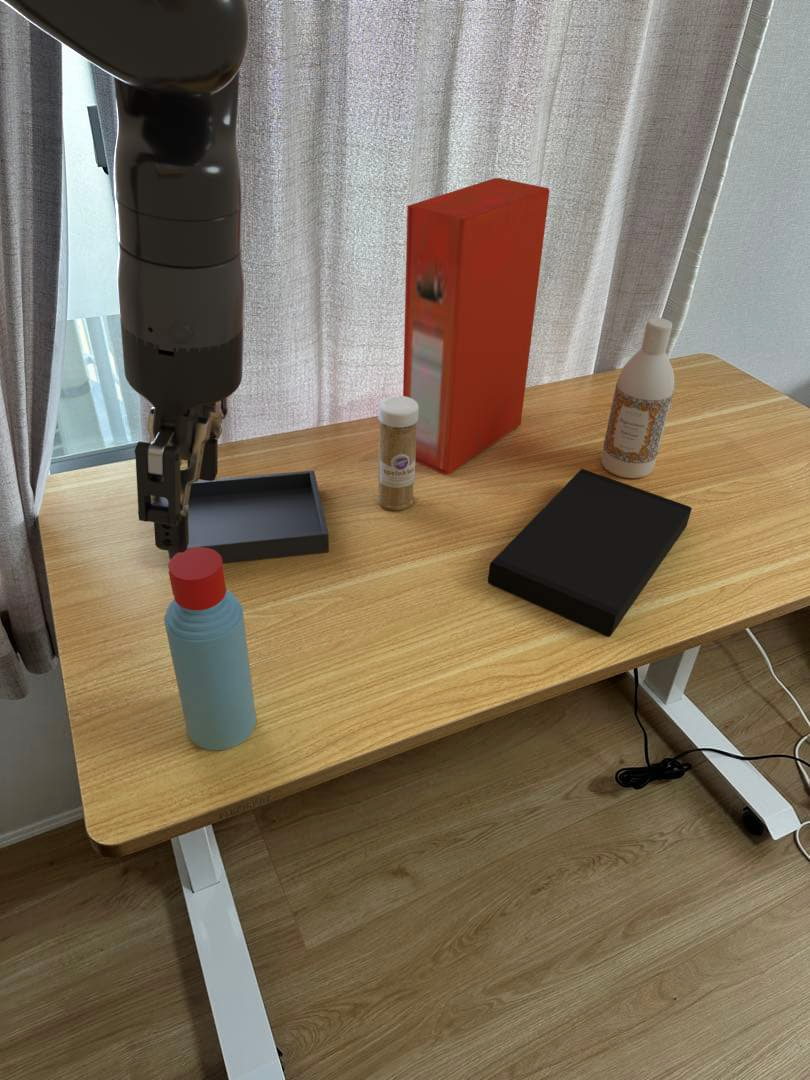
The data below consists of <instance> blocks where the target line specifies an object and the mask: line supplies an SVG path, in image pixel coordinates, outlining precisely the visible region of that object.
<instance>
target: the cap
mask: <svg viewBox="0 0 810 1080" xmlns="http://www.w3.org/2000/svg"><path fill="white" fill-rule="evenodd" d="M168 576H169V580H170V587H171V591H172V595H173V598H174V599H175V601H176V603H177V604H178V605H179V606H181V607H183V608H185V609H188V610H204V609H208V608H211V607H213V606H215V605H217V604H218V603H220V602H221V601H222V600H223V598H224V597H225V595H226V590H227V587H226V586H227V585H226V578H225V571H224V563H222V558H221V556H220V554H219V553H218V552H216V551H214V550H212V549H209V548H204V547H195V548H189V549H186V551H185V552H182V553H180V552H179V553H177V554H176V555H175V556H174V557H173V558H172V559H171V560H170V559H169V563H168Z"/></svg>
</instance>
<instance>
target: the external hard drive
mask: <svg viewBox="0 0 810 1080" xmlns="http://www.w3.org/2000/svg"><path fill="white" fill-rule="evenodd" d="M692 510H693V509H692V507H691V506H689V505H686V504H684V503H681V502H678V501H675V500H673V499H669V498H666V497H664V496H661V495H659V494H655V493H653V492H649V491H647V490H644V489H641V488H639V487H636V486H633V485H630V484H627V483H624V482H621V481H619V480H616V479H613V478H610V477H608V476H605V475H602V474H599V473H596V472H593V471H591V470H588V469H584V468H581V469H579V471H578V472H577V473H576V474H575V475H573V477H572V478H571V479H570V480H569V481H568V482H567V483H566V484H565V485H564V486H563V487H562V488H561V489H560V490H559V491H558V492H557V493H556V494H555V496H553V498H552V499H550V501H548V503H547V504H546V505H545V506H543V508H542V509H541V510H540V511H539V512H538V513H537V514H536V515H535V516H534V517H533V518H532V519H531V520H530V521H529V522H528V524H527V525H525V526H524V528H522V529H521V530H520V531H519V533H517V535H516V536H515V537H513V539H512V540H511V541H510V542H508V544H507V545H506V546H505V547H504V548H503V549H502V550H501V551H500V552H499V553H498V554H497V555H496V556H495V557H494V558H493V559H492V561H491V562H490V563H489V568H488V575H487V576H488V577H487V583H488V584H489V585H490V586H493V587H495V588H497V589H500V590H502V591H504V592H507V593H509V594H511V595H513V596H515V597H518V598H520V599H522V600H525V601H527V602H529V603H531V604H534V605H536V606H538V607H540V608H543V609H545V610H547V611H549V612H552V613H553V614H556V615H558V616H560V617H563V618H565V619H567V620H569V621H572V622H574V623H576V624H578V625H581V626H583V627H585V628H587V629H589V630H592V631H594V632H596V633H598V634H601V635H603V636H606V637H608V638H609V637H611V636H612V635H613V633H614V632H615V631H616V629H617V628H618V626H619V625H620V624H621V622H622V621H623V619H624V617H625V616H626V615H627V613H628V612H629V610H630V609H631V608H632V606H633V604H634V603H635V602H636V601H637V598H638V597H639V596H640V595H641V593H642V591H644V589H645V587H646V586H647V584H648V583H649V582H650V580H651V579H652V577H653V575H654V574H655V573H656V571H657V570H658V568H659V567H660V566H661V564H662V562H663V561H664V560H665V558H666V557H667V555H669V552H670V551H671V549H672V548H673V547H674V545H675V544H676V542H677V541H678V540H679V538H680V536H681V535H682V534H683V532H684V531H685V529H686V528H687V526H688V523H689V519H690V516H691V513H692Z"/></svg>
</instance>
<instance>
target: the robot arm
mask: <svg viewBox="0 0 810 1080" xmlns="http://www.w3.org/2000/svg"><path fill="white" fill-rule="evenodd" d="M0 2H2V3H4V4H5V5H7V6H8V7H10V8H11V9H13V10H14V11H15V12H17V14H19V15H21V16H22V17H24V18H25V19H26V20H27V21H29V22H30V23H31V24H33V25H34V26H36V27H37V28H39V29H40V30H41V31H43V32H44V33H46V34H47V35H49V36H51V37H52V38H53V39H55V40H57V41H58V42H59V43H60V44H63V45H64V46H65V47H67V48H69V50H71V51H73V52H74V53H76V54H77V55H79V56H80V57H82V58H83V59H84V60H86V61H88V62H90V63H91V64H93V65H94V66H96V67H98V68H99V69H100V70H102V71H104V72H105V73H107V74H109V75H111V76H112V77H113V83H114V94H115V95H114V96H115V105H116V115H117V136H116V142H115V149H114V157H113V158H114V159H113V191H114V192H113V193H114V203H115V215H116V228H117V239H118V241H117V244H118V247H117V248H118V257H117V266H116V268H117V269H116V270H117V271H116V283H117V284H116V285H117V295H118V296H117V297H118V310H119V322H120V334H121V345H122V347H121V348H122V357H123V358H122V359H123V369H124V376H125V379H126V381H127V383H128V385H129V386H130V387H131V388H132V390H134V391H135V392H136V393H137V394H138V395H140V396H142V397H143V398H144V399H146V400H147V401H148V402H149V403H150V404H151V405H152V406H153V407H151V408H150V410H149V414H148V421H147V429H146V430H147V432H148V433H149V440H148V441H143V440H139V441H138V442H137V443H136V446H135V448H134V454H135V474H136V490H137V492H136V493H137V515H138V521H140V522H146V523H148V522H149V523H153V528H154V529H153V530H154V543H155V546H156V548H158V549H159V550H162V551H167V552H168V551H173V552H180V553H182V552H185V551H186V549H187V546H188V544H189V531H188V510H189V504H188V503H189V496H190V489H191V485H192V483H194V482H197V481H198V480H206V481H213V480H215V479H217V476H218V473H219V472H218V471H219V469H218V468H219V466H218V464H219V463H218V459H219V456H218V455H219V454H218V453H219V452H218V451H219V450H218V449H219V446H218V444H219V443H218V442H219V439H220V437H221V435H222V433H223V428H222V424H223V420H225V419H226V416H227V415H228V410H229V409H228V407H227V405H228V404H227V403H228V402H227V401H228V400H227V399H228V397H230V396H231V395H233V394H235V392H236V391H237V390H238V388H239V387H240V385H241V384H242V380H243V366H244V365H243V361H244V360H243V358H244V328H245V327H244V324H245V322H244V319H245V277H244V275H245V274H244V268H243V258H242V235H243V233H242V232H243V231H242V229H243V221H242V220H243V181H242V171H241V163H240V156H239V150H238V137H237V135H238V134H237V130H238V115H239V113H238V112H239V94H240V93H239V92H240V71H241V70H240V69H241V68H242V65H243V62H244V61H245V58H246V55H247V51H248V46H249V43H250V15H249V8H248V3H247V0H0ZM183 461H186V462H187V468H185V469H182V468H181V467H182V464H183Z"/></svg>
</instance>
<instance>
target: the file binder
mask: <svg viewBox="0 0 810 1080" xmlns="http://www.w3.org/2000/svg"><path fill="white" fill-rule="evenodd" d="M549 198H550V188H549V187H544V186H541V185H535V184H530V183H524V182H522V181H521V182H520V181H515V180H510V179H506V178H501V177H494V178H490V179H488V180H485V181H481V182H478V183H475V184H471V185H469V186H465V187H462V188H459V189H456V190H454V191H453V190H452V191H450V192H446V193H443V194H440V195H437V196H434V197H430V198H427V199H424V200H421V201H418V202H414V203H412V204H409V205H407V210H406V247H405V248H406V250H405V251H406V252H405V253H406V255H405V257H406V258H405V293H404V295H405V298H404V335H403V336H404V337H403V339H404V343H403V377H402V378H403V380H402V384H403V385H402V396H405V397H409V398H411V399H413V400H415V401H416V402H417V403H418V406H419V413H418V421H417V424H416V457H415V463H418V464H421V465H423V466H425V467H427V468H429V469H432V470H434V471H437V472H439V473H441V474H444V475H449V474H451V473H453V472H454V471H456V470H457V469H458V468H460V467H461V466H463V465H464V464H466V463H467V462H469V461H470V460H472V459H473V458H475V457H476V456H477V455H479V454H480V453H482V452H483V451H485V450H487V449H488V448H489V447H490V446H492V445H493V444H495V443H496V442H498V441H499V440H501V439H502V438H504V437H505V436H507V435H508V434H509V433H511V432H512V431H514V430H516V429H517V428H519V427H520V426H521V425H522V417H523V410H524V409H523V408H524V402H525V401H524V400H525V393H526V392H525V391H526V384H527V377H528V369H529V360H530V352H531V344H532V336H533V328H534V327H533V326H534V321H535V319H534V318H535V311H536V302H537V297H538V296H537V295H538V288H539V278H540V273H541V272H540V271H541V262H542V257H543V256H542V254H543V247H544V239H545V230H546V222H547V214H548V207H549V200H550V199H549Z"/></svg>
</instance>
